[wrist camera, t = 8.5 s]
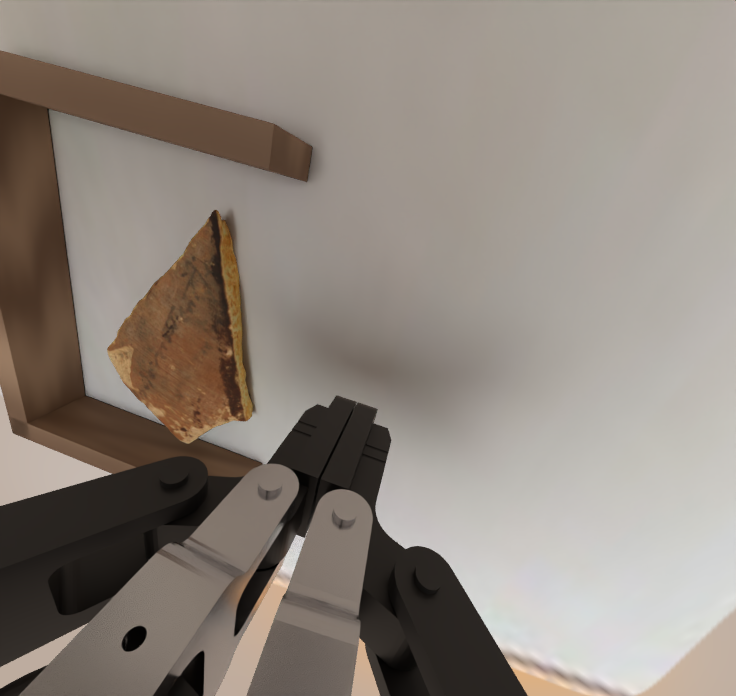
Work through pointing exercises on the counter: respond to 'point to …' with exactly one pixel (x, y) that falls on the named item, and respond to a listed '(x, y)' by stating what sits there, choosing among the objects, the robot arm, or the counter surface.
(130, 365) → the shard
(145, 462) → the wooden c-shaped bracket
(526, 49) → the counter surface
